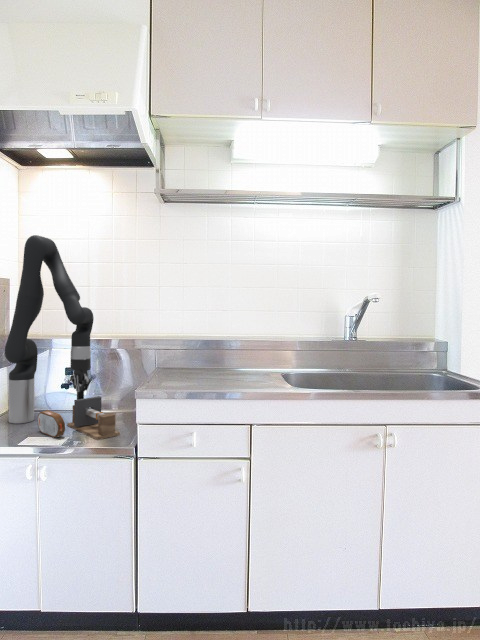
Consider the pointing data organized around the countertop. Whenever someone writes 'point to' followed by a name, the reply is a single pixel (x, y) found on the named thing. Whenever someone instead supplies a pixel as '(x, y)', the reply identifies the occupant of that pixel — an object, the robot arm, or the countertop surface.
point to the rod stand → (97, 425)
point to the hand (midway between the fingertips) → (80, 400)
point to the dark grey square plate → (79, 410)
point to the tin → (51, 423)
